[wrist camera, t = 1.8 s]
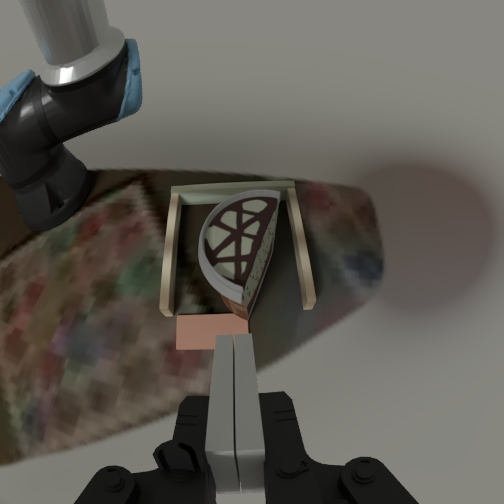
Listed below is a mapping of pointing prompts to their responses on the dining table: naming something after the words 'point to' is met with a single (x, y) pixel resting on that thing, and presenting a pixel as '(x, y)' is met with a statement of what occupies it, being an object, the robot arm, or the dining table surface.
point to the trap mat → (207, 330)
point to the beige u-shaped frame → (218, 195)
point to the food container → (239, 247)
